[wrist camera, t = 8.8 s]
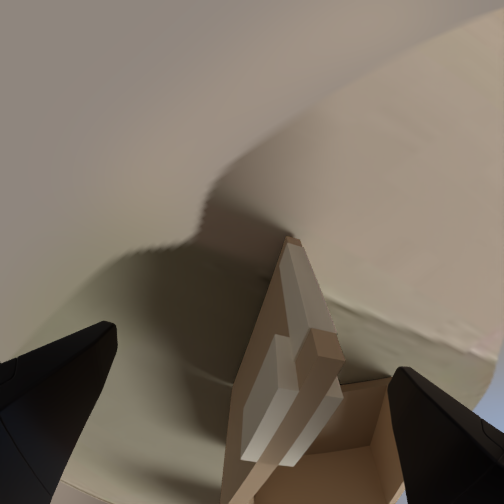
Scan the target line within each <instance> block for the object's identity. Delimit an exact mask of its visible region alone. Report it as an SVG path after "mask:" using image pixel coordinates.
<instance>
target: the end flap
mask: <svg viewBox="0 0 504 504" xmlns="http://www.w3.org/2000/svg"><path fill="white" fill-rule="evenodd" d="M337 334H338V333H337V331H336V328H335V325H334V323H333V320H332V317H331V315H330V312H329V309H328V307H327V304H326V302H325V299H324V296H323V294H322V291H321V289H320V286H319V284H318V281H317V279H316V276H315V274H314V271H313V269H312V266H311V264H310V261H309V259H308V256H307V254H306V251H305V249H304V247H302V244H301V242H300V240H299V239H296V238H292V237H289V236H286V238H285V241H284V244H283V247H282V250H281V253H280V256H279V258H278V261H277V264H276V267H275V270H274V273H273V276H272V279H271V282H270V284H269V287H268V290H267V293H266V296H265V299H264V301H263V304H262V307H261V310H260V313H259V316H258V318H257V321H256V324H255V327H254V329H253V332H252V335H251V338H250V341H249V343H248V346H247V349H246V351H245V354H244V357H243V360H242V362H241V365H240V368H239V370H238V373H237V376H236V379H235V381H234V384H233V387H232V393H231V402H230V411H229V420H228V430H227V439H226V448H225V458H224V467H223V477H222V486H221V496H220V504H247V503H248V502H249V501H250V500H251V499H252V497H253V496H254V495H255V494H256V493H257V491H258V490H259V489H260V488H261V486H262V485H263V484H264V483H265V481H266V480H267V479H268V477H269V476H270V475H271V474H272V472H273V471H274V470H275V468H276V467H277V466H278V465H282V466H291V467H294V465H295V464H296V463H297V462H298V460H299V459H300V458H301V457H302V455H303V454H304V453H305V452H306V450H307V449H308V448H309V446H310V445H311V444H312V442H313V441H314V440H315V438H316V437H317V436H318V434H319V433H320V432H321V430H322V429H323V427H324V426H325V425H326V423H327V422H328V420H329V419H330V418H331V416H332V415H333V413H334V412H335V410H336V409H337V407H338V406H339V404H340V403H341V401H342V400H343V394H342V391H341V387H340V384H339V380H338V377H337V375H338V373H339V372H340V370H341V368H342V367H343V365H344V363H345V358H344V355H343V352H342V349H341V347H340V344H339V341H338V338H337Z"/></svg>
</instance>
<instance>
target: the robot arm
mask: <svg viewBox="0 0 504 504" xmlns="http://www.w3.org/2000/svg"><path fill="white" fill-rule="evenodd" d="M117 348H118V343H117V328H116V325H115V324H114V323H111V322H107V321H101V322H99V323H97V324H94V325H92V326H90V327H87V328H85V329H82V330H80V331H78V332H75V333H73V334H71V335H68V336H66V337H64V338H61V339H59V340H56V341H54V342H52V343H49V344H47V345H45V346H42V347H40V348H37V349H35V350H33V351H30V352H28V353H26V354H23V355H21V356H18V358H14V359H11V360H9V361H6V362H4V363H0V504H50V502H51V499H52V496H53V494H54V492H55V490H56V487H57V485H58V483H59V480H60V478H61V476H62V474H63V471H64V469H65V467H66V465H67V462H68V460H69V458H70V456H71V454H72V451H73V449H74V447H75V445H76V443H77V441H78V439H79V436H80V434H81V432H82V430H83V428H84V426H85V424H86V422H87V420H88V418H89V416H90V414H91V412H92V410H93V408H94V406H95V404H96V402H97V400H98V398H99V396H100V394H101V392H102V389H103V387H104V384H105V381H106V379H107V376H108V373H109V371H110V368H111V365H112V363H113V360H114V358H115V355H116V352H117ZM387 394H388V400H389V407H390V415H391V423H392V429H393V434H394V438H395V442H396V447H397V451H398V456H399V460H400V465H401V470H402V475H403V480H404V485H405V491H406V496H407V502H408V504H504V433H503V432H501V431H500V430H498V429H496V428H495V427H494V426H492V425H491V424H489V423H488V422H486V421H485V420H484V419H481V418H480V417H479V416H478V415H476V414H475V413H474V412H472V411H471V410H469V409H468V408H467V407H465V406H464V405H462V404H461V403H460V402H458V401H457V400H455V399H454V398H453V397H451V396H450V395H448V394H447V393H446V392H444V391H443V390H441V389H440V388H439V387H437V386H436V385H434V384H433V383H432V382H430V381H429V380H427V379H426V378H425V377H423V376H422V375H420V374H419V373H418V372H416V371H415V370H413V369H412V368H411V367H402V366H401V367H398V368H397V369H396V371H395V373H394V375H393V377H392V379H391V381H390V382H389V384H388V388H387Z"/></svg>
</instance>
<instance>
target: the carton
mask: <svg viewBox="0 0 504 504" xmlns="http://www.w3.org/2000/svg"><path fill="white" fill-rule="evenodd" d="M391 379H392V377H388V378H383V379H377V380H371V381H365V382H359V383H352V384H345V385H340V387H341V391H342V394H343V400H342V401H341V403H340V404H339V406H338V407H337V409H336V410H335V412H334V413H333V415H332V416H331V418H330V419H329V420H328V422H327V423H326V425H325V426H324V427H323V429H322V430H321V432H320V433H319V434H318V436H317V437H316V438H315V440H314V441H313V442H312V444H311V445H310V446H309V448H308V449H307V450H306V452H305V453H304V454H303V455H302V457H301V458H300V459H299V460H298V462H297V463H296V464H295V465H294V467H291V466H282V465H278V466H277V467H276V468H275V470H274V471H273V472H272V474H271V475H270V476H269V477H268V479H267V480H266V481H265V483H264V484H263V485H262V486H261V488H260V489H259V490H258V491H257V493H256V494H255V495H254V496H253V497H252V499H251V500H250V501H249V502H248V503H247V504H395V503H396V502H397V500H398V499H399V498H400V496H401V495H402V493H403V492H404V490H405V485H404V480H403V475H402V470H401V465H400V460H399V456H398V451H397V447H396V442H395V438H394V434H393V429H392V423H391V415H390V407H389V400H388V394H387V388H388V384H389V382H390V381H391Z"/></svg>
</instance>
